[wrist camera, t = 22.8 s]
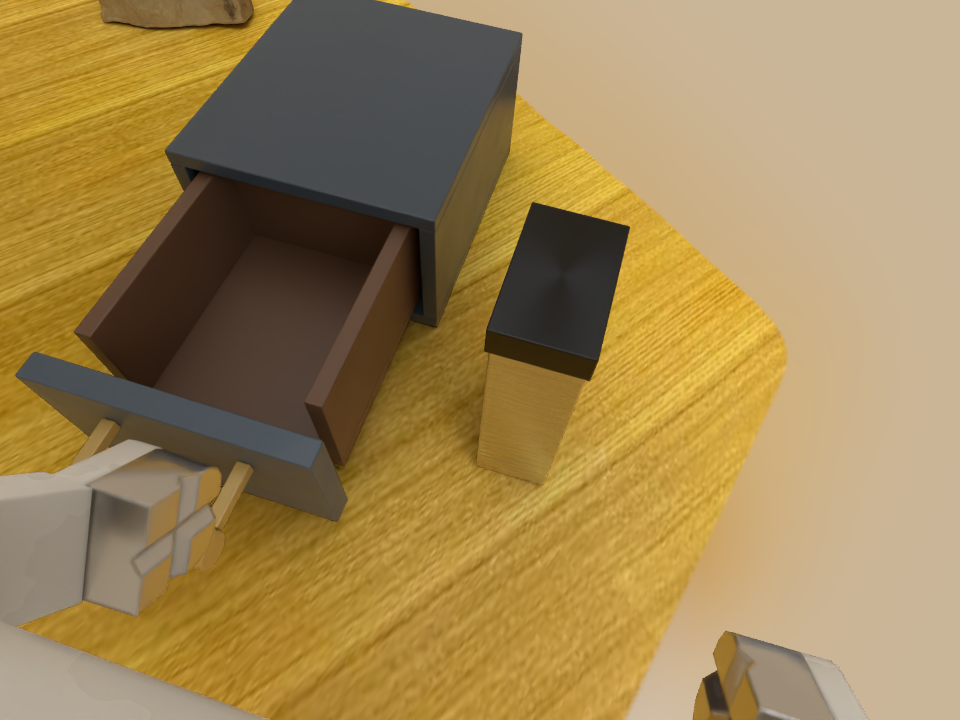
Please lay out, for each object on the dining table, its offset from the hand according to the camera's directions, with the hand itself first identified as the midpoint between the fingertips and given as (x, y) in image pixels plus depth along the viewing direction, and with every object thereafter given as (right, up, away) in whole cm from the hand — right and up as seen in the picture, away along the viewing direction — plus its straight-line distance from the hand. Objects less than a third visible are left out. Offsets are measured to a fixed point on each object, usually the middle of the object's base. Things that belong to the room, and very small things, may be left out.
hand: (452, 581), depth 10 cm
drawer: (-11, +2, +22) cm, 24 cm away
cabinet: (-6, +14, +30) cm, 34 cm away
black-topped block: (+3, 0, +23) cm, 23 cm away
